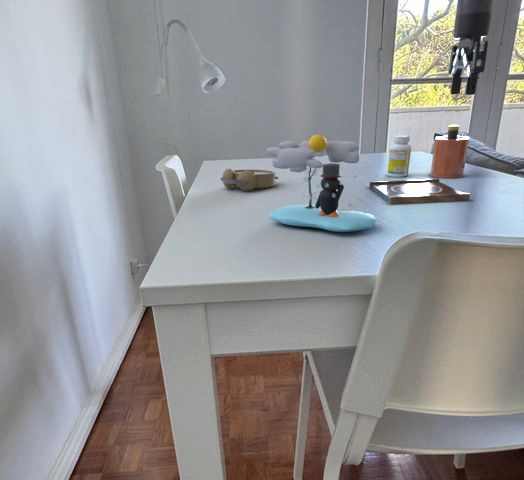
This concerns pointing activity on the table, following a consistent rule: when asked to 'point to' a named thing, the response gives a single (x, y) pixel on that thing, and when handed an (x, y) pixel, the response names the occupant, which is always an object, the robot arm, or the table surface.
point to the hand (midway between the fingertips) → (461, 94)
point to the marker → (453, 131)
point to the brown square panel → (417, 191)
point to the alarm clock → (248, 179)
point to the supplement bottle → (399, 156)
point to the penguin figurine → (328, 199)
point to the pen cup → (449, 157)
